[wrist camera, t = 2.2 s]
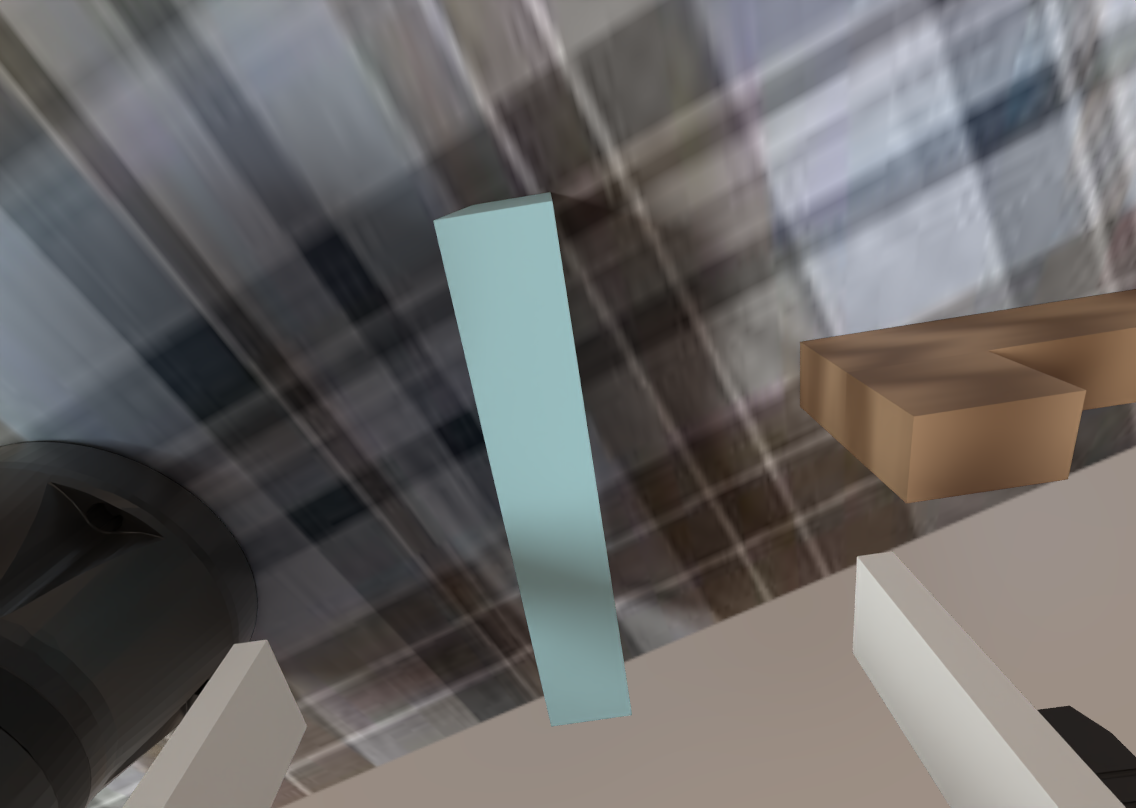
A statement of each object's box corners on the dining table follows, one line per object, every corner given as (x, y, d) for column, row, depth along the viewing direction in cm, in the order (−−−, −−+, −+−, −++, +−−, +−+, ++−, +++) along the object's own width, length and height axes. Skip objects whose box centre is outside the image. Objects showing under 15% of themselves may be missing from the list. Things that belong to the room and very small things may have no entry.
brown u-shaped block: (800, 406, 25) (906, 503, 18) (800, 342, 24) (914, 416, 17) (1165, 349, 25) (1430, 425, 17) (1183, 281, 24) (1475, 330, 16)
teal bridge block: (550, 581, 28) (551, 726, 21) (472, 205, 21) (433, 220, 14) (609, 573, 28) (631, 715, 21) (550, 192, 21) (552, 200, 14)
